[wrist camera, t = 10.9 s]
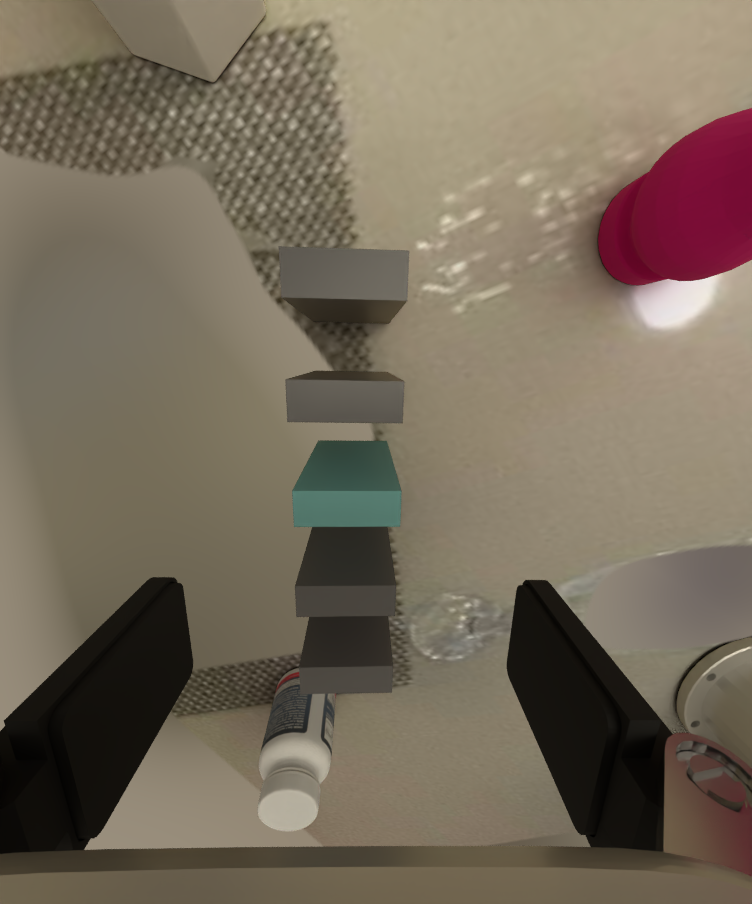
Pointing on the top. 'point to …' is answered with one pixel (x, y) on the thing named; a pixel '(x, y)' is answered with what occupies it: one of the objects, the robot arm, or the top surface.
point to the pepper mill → (685, 209)
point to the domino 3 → (348, 487)
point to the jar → (184, 31)
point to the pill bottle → (295, 755)
